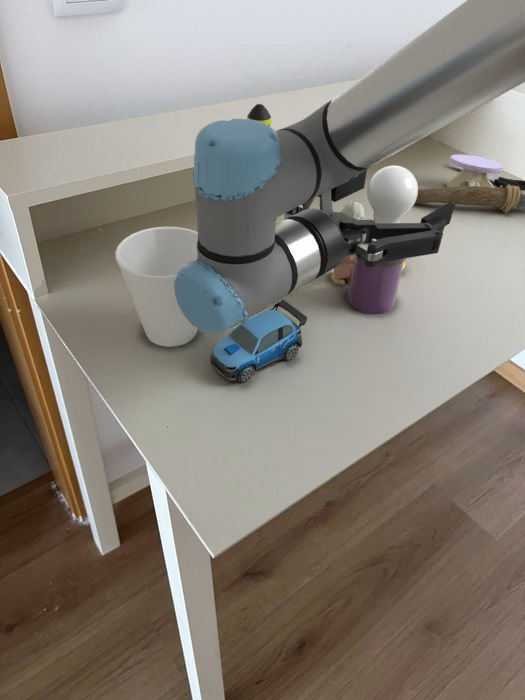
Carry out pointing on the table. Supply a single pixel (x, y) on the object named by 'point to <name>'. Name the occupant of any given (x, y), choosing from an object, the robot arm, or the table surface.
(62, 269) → the table surface
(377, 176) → the lightbulb
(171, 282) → the cup
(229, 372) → the toy car
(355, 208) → the grandmother figurine
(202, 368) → the table surface
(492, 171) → the toy table
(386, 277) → the jar
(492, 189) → the stone tool
